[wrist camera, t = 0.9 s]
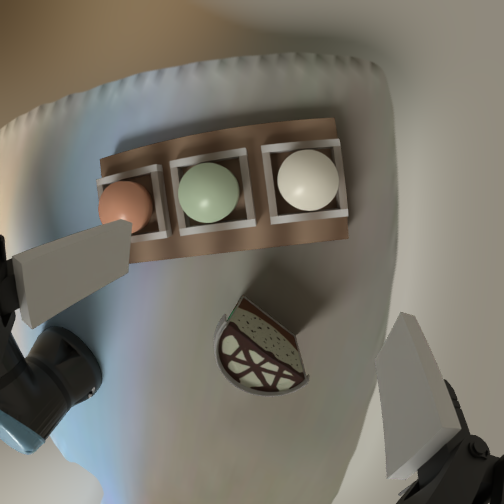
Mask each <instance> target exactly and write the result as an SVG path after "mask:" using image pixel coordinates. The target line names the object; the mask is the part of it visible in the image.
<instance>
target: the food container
mask: <svg viewBox="0 0 504 504" xmlns="http://www.w3.org/2000/svg"><path fill="white" fill-rule="evenodd" d="M214 356H215V360H216V363H217V365H218V367H219V369H220V371H221V373H222V374H223V375H224V377H225V378H226V379H227V380H228V381H229V382H230V383H231V384H233V385H234V386H235V387H237V388H239V389H240V390H242V391H244V392H247V393H250V394H253V395H257V396H265V397H274V396H282V395H286V394H289V393H292V392H295V391H297V390H299V389H301V388H303V387H304V386H305V385H307V384H308V382H309V374H308V375H307V376H306V373H305V369H304V365H303V361H302V358H301V354H300V350H299V346H298V343H297V339H296V336H295V335H294V334H293V333H291V332H290V331H289V330H287V329H286V328H285V327H284V326H282V325H281V324H280V323H278V322H277V321H276V320H274V319H273V318H272V317H271V316H269V315H268V314H267V313H265V312H264V311H263V310H262V309H260V308H259V307H258V306H257V305H255V304H254V303H253V302H251V301H250V300H249V299H248V298H246V297H245V296H244V295H243V296H242V297H241V298H240V300H239V301H238V303H237V304H236V306H235V308H234V309H233V311H232V313H231V315H230V316H229V318H228V320H227V321H226V314H224V315H223V317H222V318H221V319H220V321H219V323H218V325H217V327H216V330H215V334H214Z"/></svg>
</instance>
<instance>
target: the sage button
mask: <svg viewBox="0 0 504 504" xmlns="http://www.w3.org/2000/svg"><path fill="white" fill-rule="evenodd" d="M239 196H240V188H239V184H238V181H237V179H236V177H235V176H234V174H233V173H232V172H231V171H230V170H228V169H227V168H225V167H223V166H220V165H218V164H215V163H201V164H198V165H195V166H194V167H192V168H191V169H189V170H188V171H187V172H186V173H185V174H184V176H183V177H182V179H181V181H180V184H179V188H178V198H179V202H180V205H181V207H182V209H183V210H184V212H185V213H186V214H187V215H188V216H189V217H190V218H192V219H194V220H196V221H198V222H203V223H212V222H216V221H219V220H221V219H223V218H224V217H226V216H227V215H229V214H230V213H231V212H232V211H233V210H234V209H235V207H236V205H237V203H238V200H239Z"/></svg>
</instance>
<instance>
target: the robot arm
mask: <svg viewBox="0 0 504 504" xmlns="http://www.w3.org/2000/svg"><path fill="white" fill-rule="evenodd" d="M132 224H133V223H131V222H128V221H126V220H123V219H120V220H116V221H113V222H110V223H106V224H103V225H100V226H97V227H94V228H90V229H87V230H84V231H81V232H78V233H75V234H72V235H69V236H66V237H63V238H60V239H57V240H55V241H52V242H49V243H46V244H43V245H40V246H38V247H35V248H32V249H30V250H27V251H24V252H22V253H19V254H16V255H14V256H12V259H9V260H7V261H6V251H5V239H4V236H2V235H0V439H1V440H3V441H4V442H5V443H6V444H8V445H9V446H10V447H12V448H13V449H15V450H17V451H18V452H20V453H23V454H27V455H29V454H33V453H34V452H35V451H36V450H37V449H38V448H39V447H40V446H41V445H42V444H44V443H45V440H46V439H47V438H48V436H49V435H50V434H51V432H52V431H53V430H54V429H55V427H56V426H57V425H58V423H59V422H60V421H61V420H62V418H63V417H64V416H65V415H66V413H67V412H68V411H69V410H70V408H71V407H73V406H75V405H77V404H79V403H81V402H83V401H85V400H87V399H89V398H90V397H92V396H93V395H94V394H95V393H96V392H97V390H98V389H99V388H100V386H101V382H102V376H101V371H100V368H99V365H98V363H97V361H96V359H95V357H94V356H93V354H92V353H91V351H90V350H89V348H88V347H87V346H86V345H85V344H84V343H83V342H82V341H81V340H80V339H79V338H78V337H77V336H76V335H74V334H73V333H72V332H70V331H68V330H66V329H64V328H61V327H57V326H53V327H49V328H47V329H46V330H45V331H43V332H42V333H41V334H40V335H39V336H38V338H37V340H36V341H35V343H34V345H33V347H32V348H31V350H30V352H29V354H28V356H27V357H26V358H24V357H23V355H22V353H21V351H20V349H19V347H18V345H17V343H16V341H15V339H14V337H13V335H12V333H11V330H12V327H13V324H14V321H15V317H16V315H15V310H16V309H18V308H20V312H21V317H22V321H23V322H24V323H26V324H27V325H28V326H29V327H30V328H31V329H34V328H36V327H37V326H39V325H40V324H42V323H44V322H45V321H47V320H48V319H50V318H52V317H53V316H55V315H57V314H58V313H60V312H62V311H63V310H65V309H67V308H68V307H70V306H72V305H73V304H75V303H77V302H78V301H80V300H82V299H83V298H85V297H87V296H88V295H90V294H92V293H94V292H95V291H97V290H99V289H100V288H102V287H104V286H106V285H107V284H109V283H111V282H113V281H114V280H116V279H118V278H120V277H121V276H123V275H125V274H127V273H128V268H129V255H130V243H131V233H132ZM375 366H376V372H377V379H378V386H379V392H380V401H381V408H382V418H383V428H384V439H385V452H386V472H387V479H402V480H406V479H407V478H408V477H410V476H411V475H412V474H413V473H415V472H416V471H418V479H417V480H416V481H415V482H414V483H412V484H411V485H410V486H408V487H407V488H405V489H404V490H403V491H401V492H400V493H399V494H398V495H402V494H403V493H404V495H403V496H402V497H401V498H400V499H399V501H398V502H397V503H396V504H488V503H490V504H504V455H503V456H502V457H500V458H499V457H495V456H492V455H490V451H489V448H488V446H487V444H486V443H485V442H484V441H483V440H482V439H481V438H480V437H478V436H476V435H470V432H469V429H468V426H467V423H466V421H465V418H464V415H463V412H462V410H461V409H460V404H459V402H458V401H457V397H456V394H455V392H454V389H453V388H452V387H451V385H450V384H449V383H448V382H447V381H446V380H444V379H443V377H442V375H441V372H440V370H439V367H438V365H437V363H436V360H435V358H434V356H433V354H432V351H431V349H430V347H429V345H428V343H427V340H426V338H425V336H424V334H423V332H422V330H421V328H420V326H419V324H418V322H417V320H416V318H415V316H413V315H410V314H406V313H403V312H400V314H399V316H398V318H397V320H396V322H395V324H394V326H393V328H392V330H391V332H390V334H389V335H388V337H387V339H386V341H385V343H384V345H383V346H382V348H381V350H380V352H379V353H378V355H377V357H376V359H375Z"/></svg>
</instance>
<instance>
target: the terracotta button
mask: <svg viewBox="0 0 504 504" xmlns="http://www.w3.org/2000/svg"><path fill="white" fill-rule="evenodd" d="M98 210H99V217H100V220H101V222H102V224H106V223H110V222H113V221H116V220H120V219H123V220H126V221H128V222H131V223H133V224H132V233H134V232H137V231H139V230H141V229H143V228H144V227H145V226H146V225H147V223H148V222H149V220H150V218H151V215H152V210H153V205H152V199H151V196H150V194H149V192H148V190H147V189H146V188H145V187H144V186H143V185H141V184H140V183H137V182H133V181H118V182H114V183H112V184H110V185H109V186H108V187H107V188H106V189H105V190H104V191H103V193H102V195H101V197H100V200H99V206H98Z"/></svg>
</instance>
